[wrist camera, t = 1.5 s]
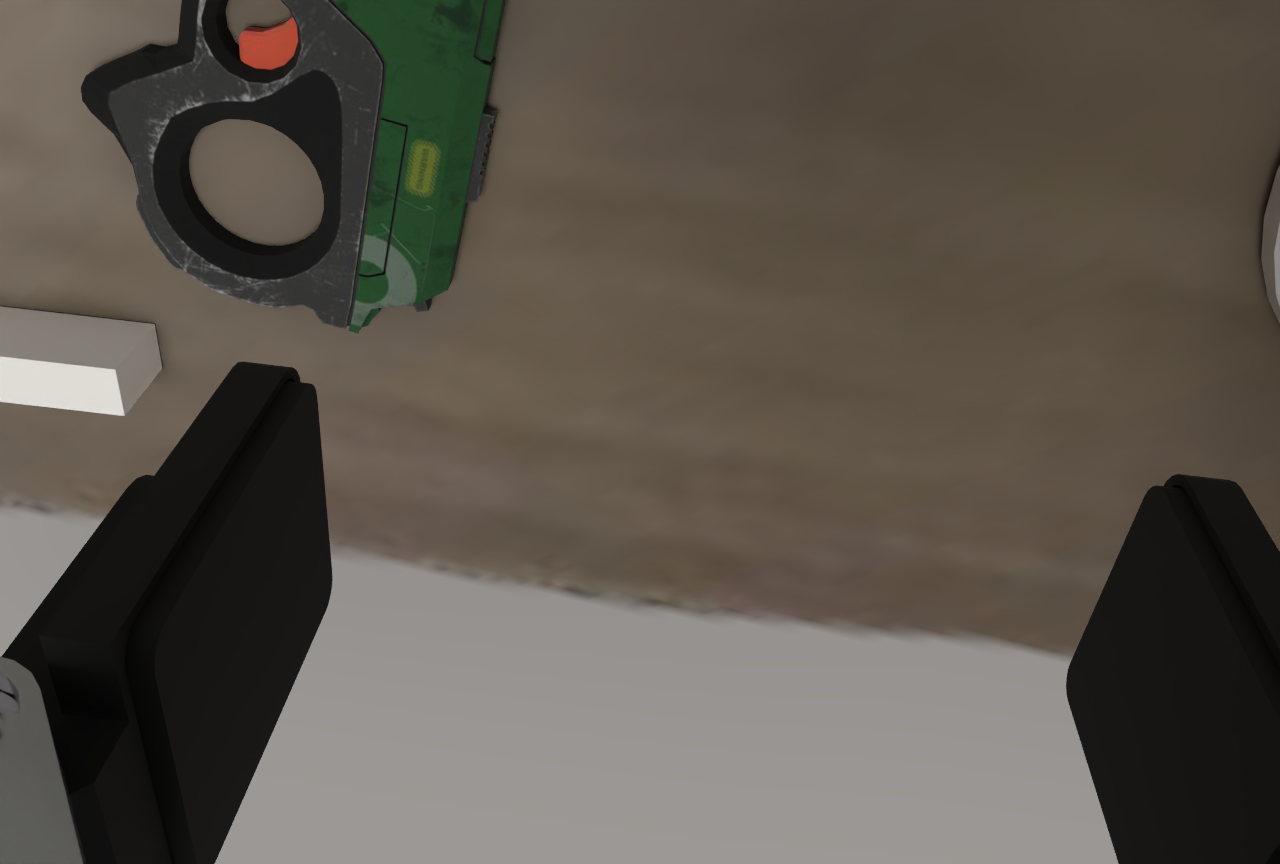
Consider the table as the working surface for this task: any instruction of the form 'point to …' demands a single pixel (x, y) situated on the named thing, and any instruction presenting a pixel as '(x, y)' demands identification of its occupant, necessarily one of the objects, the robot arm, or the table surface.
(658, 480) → the table surface
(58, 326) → the white angled bar
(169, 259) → the gun
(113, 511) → the robot arm
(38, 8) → the table surface
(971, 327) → the table surface
